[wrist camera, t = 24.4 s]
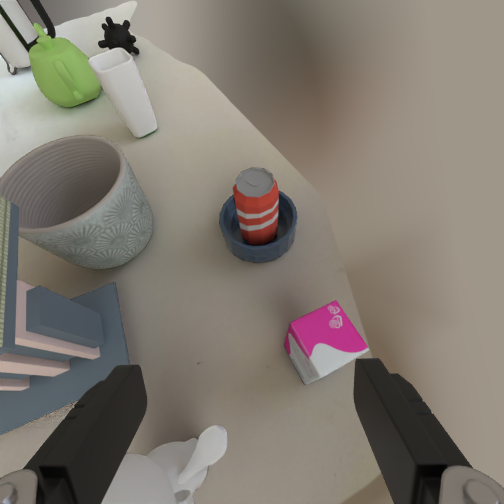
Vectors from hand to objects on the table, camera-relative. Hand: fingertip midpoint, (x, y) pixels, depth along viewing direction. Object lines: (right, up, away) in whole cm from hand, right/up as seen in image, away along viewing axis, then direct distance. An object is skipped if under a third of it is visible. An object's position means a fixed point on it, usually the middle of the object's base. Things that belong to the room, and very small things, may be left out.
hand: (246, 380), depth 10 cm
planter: (-23, +7, +37) cm, 44 cm away
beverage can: (+1, +8, +35) cm, 36 cm away
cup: (-25, +34, +52) cm, 67 cm away
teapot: (-47, +48, +62) cm, 92 cm away
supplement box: (+8, -9, +26) cm, 29 cm away
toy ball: (-38, +64, +70) cm, 102 cm away
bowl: (+2, +8, +36) cm, 37 cm away
